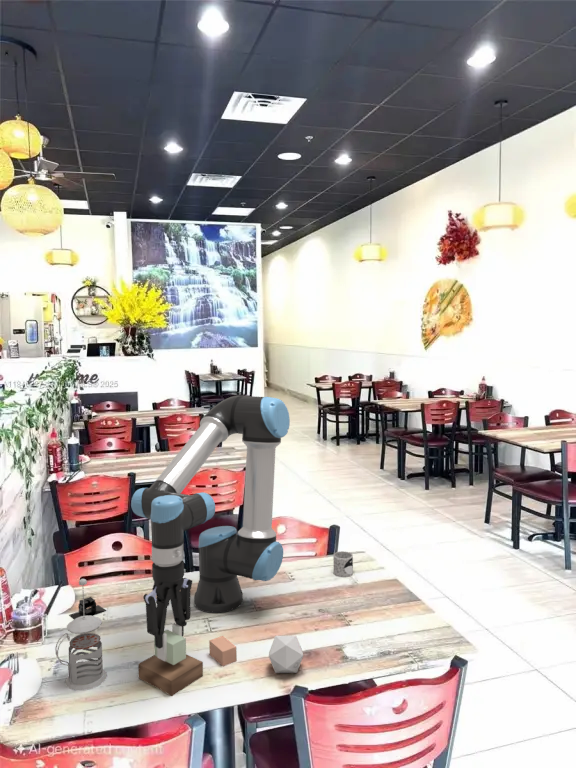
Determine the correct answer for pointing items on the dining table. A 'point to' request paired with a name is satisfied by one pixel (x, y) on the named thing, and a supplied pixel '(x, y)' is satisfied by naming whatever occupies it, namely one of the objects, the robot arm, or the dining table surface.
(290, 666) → the die
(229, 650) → the terracotta brick
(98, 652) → the french press
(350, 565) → the mug
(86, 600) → the black angular piece
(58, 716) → the dining table surface
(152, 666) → the walnut slab
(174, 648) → the sage brick
